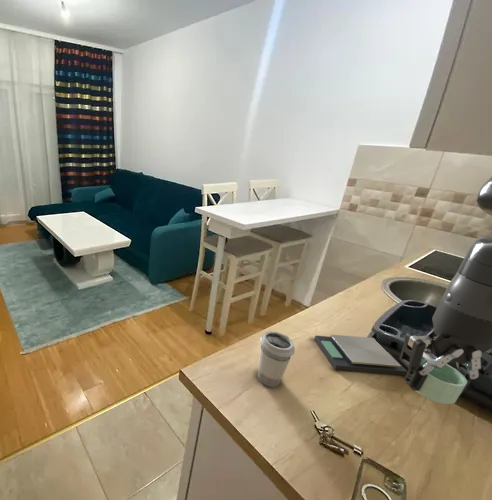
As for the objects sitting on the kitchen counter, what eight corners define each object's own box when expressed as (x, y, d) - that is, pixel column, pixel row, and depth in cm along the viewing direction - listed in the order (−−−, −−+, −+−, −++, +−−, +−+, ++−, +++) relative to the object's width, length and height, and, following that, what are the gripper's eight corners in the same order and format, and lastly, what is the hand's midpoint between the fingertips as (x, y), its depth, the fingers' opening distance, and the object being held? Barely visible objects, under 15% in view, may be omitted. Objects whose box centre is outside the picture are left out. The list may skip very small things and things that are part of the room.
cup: (290, 388, 65) (303, 346, 61) (269, 398, 63) (280, 355, 58) (266, 366, 71) (276, 326, 67) (245, 374, 68) (254, 334, 64)
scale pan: (372, 339, 77) (373, 337, 77) (400, 367, 68) (401, 365, 68) (330, 336, 78) (330, 334, 78) (351, 363, 69) (352, 361, 69)
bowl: (433, 378, 52) (444, 359, 51) (465, 408, 47) (478, 387, 45) (398, 375, 53) (408, 356, 51) (426, 404, 47) (437, 384, 46)
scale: (373, 347, 79) (377, 339, 78) (403, 379, 69) (408, 370, 68) (312, 342, 80) (315, 334, 79) (333, 373, 70) (337, 364, 69)
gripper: (448, 317, 40) (404, 403, 47) (561, 324, 39) (500, 411, 46) (407, 290, 47) (373, 368, 54) (502, 295, 46) (456, 374, 53)
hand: (432, 388), depth 50 cm, fingers closed on bowl, 6 cm apart
